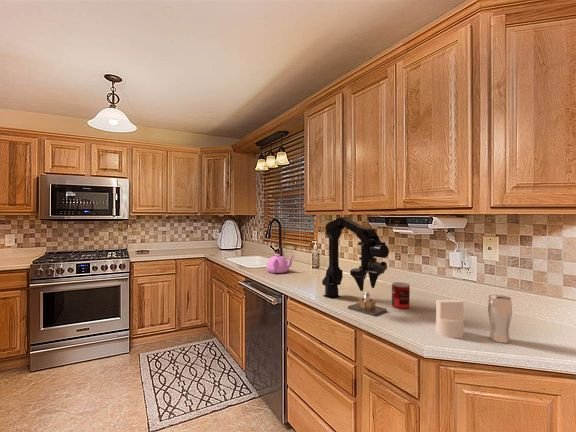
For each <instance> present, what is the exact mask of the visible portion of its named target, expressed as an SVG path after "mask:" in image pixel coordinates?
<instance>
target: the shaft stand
mask: <svg viewBox="0 0 576 432" xmlns="http://www.w3.org/2000/svg"><path fill="white" fill-rule="evenodd" d="M363 298H364V301H370V298H371V294H370V292H367V291H366V292H365V293H364V294H363ZM347 310H351V311H355V312H358V313H362V314H366V315H369V316H373V317H376V316H379V315H381V314H383V313H386V312H388V311H387V308H385V307H380V306H378V305H375V309H373V310H366V309H365V310H364V309H361V308H359V302H357V303H354V304H350V305H348V306H347Z"/></svg>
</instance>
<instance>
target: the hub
mask: <svg viewBox="0 0 576 432" xmlns="http://www.w3.org/2000/svg"><path fill="white" fill-rule="evenodd" d="M358 303H359V308H361V309H364V310H365V309H366V310H373V309H375V306H376V300H375V299H374V298H371V297H370V301H364V297H360V298H358Z"/></svg>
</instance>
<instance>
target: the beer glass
mask: <svg viewBox="0 0 576 432" xmlns="http://www.w3.org/2000/svg"><path fill="white" fill-rule="evenodd" d="M487 301H488V302H487V303H488V304H487V313H488V318H489V324H490V332H489V337H488V338H489V340H490V341H493V342H497V343H499V344H510V343H511V337H510V327H511V322H512V317H513V303H512V298H511V297H510V296H508V295H506V296H505V295H501V294H489V295H488V300H487Z"/></svg>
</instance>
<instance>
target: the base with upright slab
mask: <svg viewBox="0 0 576 432" xmlns="http://www.w3.org/2000/svg"><path fill="white" fill-rule="evenodd" d="M435 304H436V309H435V311H436V312H435V314H436V315H435V332H436V334H438V335H440V336H441V337H444V338H445V337H446V338H448V339H463V338H464V330H465V326H464V324H465V319H464V301H463V300H461V299H436V303H435Z"/></svg>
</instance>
